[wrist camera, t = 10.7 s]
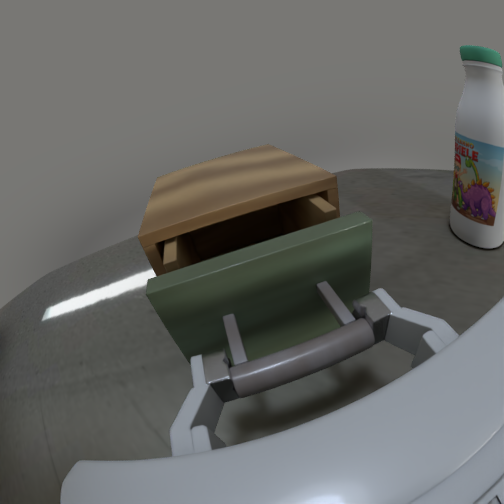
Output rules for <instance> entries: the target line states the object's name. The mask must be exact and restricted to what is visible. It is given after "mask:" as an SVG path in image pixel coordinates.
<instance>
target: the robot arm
mask: <svg viewBox="0 0 504 504" xmlns="http://www.w3.org/2000/svg"><path fill="white" fill-rule="evenodd" d="M352 306H353V308H354V310H353V312H352V315H353V317H354V318H355V321H356V320H358V319H360V318H364V319H365V320H366V321H367V322H368V323H369V325H370V326H371V328H372V331H373V333H374V338H375V343H374V345H375V344H377V343H379V342H381V341H383V340H385V341H386V342H388V343H390V344H392V345H395V346H397V347H399V348H401V349H403V350H405V351H407V352H409V353H411V354H413V355H415V356H414V359H413V361H412V364H411V367H412V368H413V369H412V370H411V371H409V372H408V373H406V374H404V375H403V376H401V377H399V378H398V379H396V380H394V381H393V382H391V383H389V384H387V385H386V386H384V387H382V388H380V389H378V390H376V391H375V392H373V393H371V394H369V395H367V396H365V397H363V398H361V399H359V400H357V401H355V402H353V403H351V404H349V405H347V406H344V407H342V408H340V409H338V410H336V411H333V412H331V413H329V414H326V415H324V416H322V417H319V418H317V419H314V420H312V421H309V422H307V423H304V424H301V425H299V426H296V427H293V428H290V429H287V430H284V431H282V432H278V433H275V434H272V435H269V436H266V437H262V438H259V439H256V440H252V441H248V442H245V443H241V444H237V445H233V446H228V447H226V444H225V443H224V442H223V441H222V440H221V439H220V438H219V437H217V436H216V435H215V434H214V432H215V429H216V426H217V423H218V420H219V417H220V415H221V412H222V409H223V406H224V403H225V402H229V401H232V400H235V399H238V398H240V397H239V396H238V394H237V393H236V390H235V388H234V382H233V379H232V376H231V371H230V368H231V367H233V365H232V363H231V360H230V358H228V356H227V353H226V351H225V349H224V348H223V349H219V350H216V351H212V352H208V353H205V354H201V355H197V356H193V357H191V360H190V362H191V370H192V378H193V385H194V388H193V389H191V390H190V392H189V394H188V395H187V397H186V399H185V401H184V403H183V405H182V407H181V409H180V411H179V413H178V415H177V417H176V419H175V421H174V423H173V425H172V426H171V428H170V430H169V431H170V440H171V449H172V457H164V458H154V459H142V460H121V461H96V460H80V461H78V462H77V463H76V464H75V465H74V466H73V467H72V469H71V470H70V472H69V473H68V474H67V476H66V477H65V479H64V481H63V483H62V488H61V504H504V297H503V298H502V299H501V300H500V301H499V302H498V303H497V304H496V305H495V306H494V307H493V308H491V309H490V310H489V311H488V312H487V313H486V314H485V315H484V316H483V317H482V318H480V319H479V320H478V321H477V322H476V323H475V324H474V325H472V326H471V327H470V328H469V329H468V330H466V331H465V332H464V333H463V334H461V335H460V336H459V335H458V334H457V333H456V332H455V331H454V330H453V329H452V328H451V327H450V326H449V324H448V323H447V322H446V321H445V320H443V319H440V318H437V317H434V316H430V315H427V314H424V313H421V312H418V311H415V310H411V309H408V308H405V307H403V308H401V307H400V306H399V305H398V304H397V303H396V302H395V301H394V300H393V299H392V298H391V297H390V296H389V295H388V294H387V293H386V292H385V290H384V289H382V288H379V289H377V290H375V291H373V292H370V293H368V294H366V295H363V296H361V297H359V298H357V299H355V300H353V303H352Z"/></svg>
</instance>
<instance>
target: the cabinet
mask: <svg viewBox="0 0 504 504" xmlns="http://www.w3.org/2000/svg"><path fill="white" fill-rule="evenodd" d="M314 193H315V194H317V195H318V196H320V197H321V198H323V199H324V200H325V201H327V202H328V203H329V204H331V205H332V206H334V207H335V208H336V209H337V218H340V211H339V198H338V188H337V177H336V176H335V175H334V174H332V173H330V172H328V171H326V170H324V169H322V168H320V167H317V166H315V165H313V164H311V163H309V162H307V161H305V160H303V159H300V158H298V157H296V156H294V155H292V154H290V153H287V152H285V151H283V150H280V149H278V148H276V147H274V146H271V145H269V144H267V145H263V146H259V147H255V148H251V149H247V150H243V151H240V152H236V153H233V154H229V155H225V156H222V157H218V158H215V159H212V160H208V161H205V162H202V163H199V164H195V165H192V166H189V167H186V168H183V169H180V170H177V171H174V172H172V173H169V174H166V175H163V176H160V177H158V178H157V180H156V182H155V185H154V188H153V191H152V194H151V197H150V200H149V203H148V206H147V209H146V212H145V215H144V218H143V221H142V225H141V228H140V231H139V234H138V239H139V241H140V243H141V245H142V247H143V249H144V251H145V254H146V256H147V258H148V260H149V262H150V264H151V266H152V268H153V270H154V272H155V274H156V276H160V275H163V274H166V273H167V271H166V269H165V267H164V265H163V260H164V247H165V240H166V239H169V238H172V237H175V236H178V235H181V234H184V233H187V232H190V231H193V230H196V229H199V228H202V227H205V226H208V225H211V224H214V223H218V222H221V221H224V220H227V219H230V218H233V217H236V216H240V215H243V214H246V213H249V212H253V211H256V210H259V209H263V208H266V207H269V206H273V205H276V204H279V203H283V202H286V201H290V200H293V199H297V198H300V197H304V196H307V195H311V194H314Z"/></svg>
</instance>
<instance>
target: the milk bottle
mask: <svg viewBox="0 0 504 504" xmlns="http://www.w3.org/2000/svg"><path fill="white" fill-rule="evenodd" d="M460 54H461V59H462V61H463V66H464V67H465V71H466V80H465V86H464V91H463V94H462V97H461V100H460V103H459V106H458V109H457V114H456V123H455V163H454V180H453V192H452V202H451V211H450V220H449V221H450V226H451V228H452V231H453V232H454V233H455V234H456V235H457V236H458V237H459V238H461V239H462V240H463V241H465V242H467V243H469V244H472V245H474V246H477V247H482V248H495V247H498V246H500V245H501V244H502V243H503V241H504V85H503V81H502V74H503V71H502V61H501V56H500V54H499V53H498V52H496V51H494V50H492V49H488V48H484V47H479V46H470V45H469V46H467V45H466V46H461V47H460Z"/></svg>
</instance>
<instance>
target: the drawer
mask: <svg viewBox="0 0 504 504" xmlns="http://www.w3.org/2000/svg"><path fill="white" fill-rule="evenodd" d="M371 254H372V219H370V218H369V217H367V216H366V215H365V214H363V213H362V212H360V211H359V212H356V213H352V214H349V215H346V216H343V217H340V218H337V209H336V208H335V207H334V206H332V205H331V204H329V203H328V202H327V201H325V200H324V199H323V198H321V197H320V196H318V195H317V194H315V193H314V194H311V195H307V196H304V197H300V198H297V199H293V200H290V201H286V202H283V203H279V204H276V205H273V206H269V207H266V208H263V209H259V210H256V211H253V212H249V213H246V214H243V215H240V216H236V217H233V218H230V219H227V220H224V221H221V222H218V223H214V224H211V225H208V226H205V227H202V228H199V229H196V230H193V231H190V232H187V233H184V234H181V235H178V236H175V237H172V238H169V239H166V240H165V247H164V260H163V265H164V267H165V269H166V271H167V273H166V274H163V275H160V276H157V277H154V278H151V279H148V282H147V290H146V295H147V297H148V299H149V300H150V302H151V304H152V305H153V307H154V309H155V310H156V312H157V314H158V315H159V317H160V319H161V320H162V322H163V324H164V325H165V327H166V328H167V330H168V332H169V333H170V335H171V336H172V338H173V339H174V341H175V342H176V344H177V345H178V347H179V348H180V350H181V351H182V353H183V354H184V356H185V357H186V359H187V360H188V362H189V363H190V365H191V362H190V360H191V357H193V356H197V355H201V354H205V353H208V352H212V351H216V350H219V349H223V348H224V349H225V351H226V353H227V356H228V358H230V360H231V363H232V365H233V367H231V368H230V371H231V376H232V379H233V382H234V388H235V390H236V393H237V394H238V396H239V397H240V398H244V397H247V396H251V395H254V394H257V393H260V392H264V391H267V390H270V389H273V388H276V387H278V386H281V385H284V384H287V383H290V382H292V381H295V380H298V379H300V378H303V377H306V376H308V375H311V374H313V373H316V372H318V371H320V370H323V369H325V368H328V367H330V366H332V365H335V364H337V363H339V362H341V361H344V360H346V359H348V358H350V357H352V356H354V355H356V354H359V353H361V352H363V351H365V350H367V349H369V348H371V347H372V346H373V345H374V343H375V338H374V333H373V331H372V328H371V326H370V325H369V323H368V322H367V321H366V320H365V319H364V318H360V319H358V320H356V321H355V318H354V317H353V315H352V312H353V310H354V308H353V306H352V303H353V300H355V299H357V298H359V297H361V296H363V295H366V294H368V293H369V287H370V273H371Z"/></svg>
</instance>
